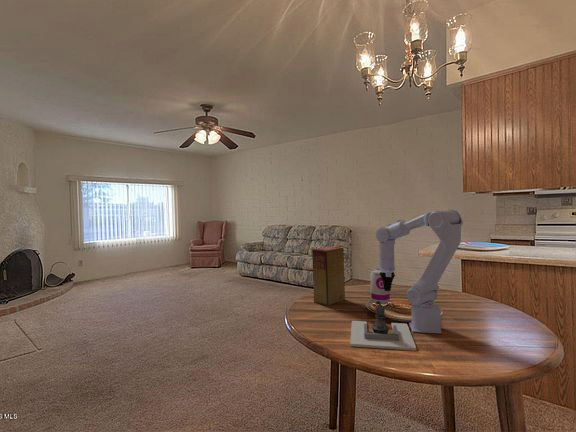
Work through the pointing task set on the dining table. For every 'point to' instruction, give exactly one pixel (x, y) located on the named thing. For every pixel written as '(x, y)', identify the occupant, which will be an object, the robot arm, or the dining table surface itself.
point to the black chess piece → (380, 321)
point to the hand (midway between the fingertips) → (387, 290)
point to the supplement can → (378, 289)
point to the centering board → (382, 337)
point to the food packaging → (328, 275)
